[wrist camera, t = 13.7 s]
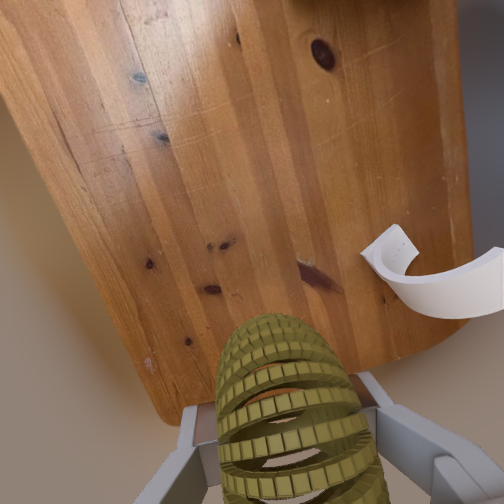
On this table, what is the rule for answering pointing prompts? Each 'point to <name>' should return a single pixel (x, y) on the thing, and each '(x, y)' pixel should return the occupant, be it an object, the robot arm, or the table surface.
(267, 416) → the sculpture
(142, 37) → the table surface
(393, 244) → the headphone stand
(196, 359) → the table surface
